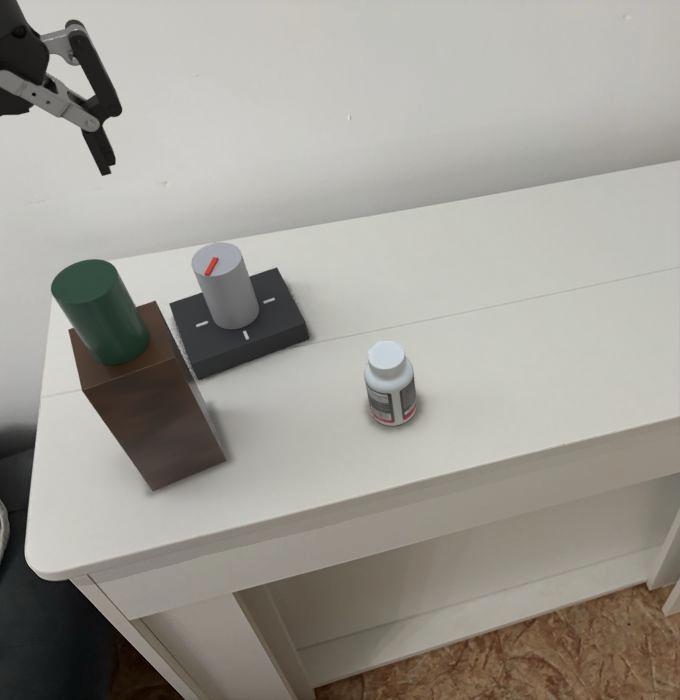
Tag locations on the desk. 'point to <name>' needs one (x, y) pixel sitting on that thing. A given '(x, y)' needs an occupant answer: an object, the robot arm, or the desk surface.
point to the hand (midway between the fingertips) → (45, 185)
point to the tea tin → (101, 311)
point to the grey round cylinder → (225, 285)
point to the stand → (152, 406)
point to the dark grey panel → (244, 343)
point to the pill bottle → (390, 383)
